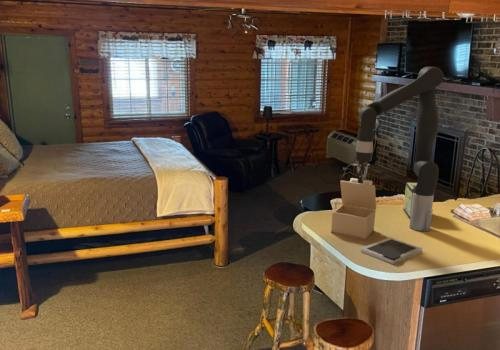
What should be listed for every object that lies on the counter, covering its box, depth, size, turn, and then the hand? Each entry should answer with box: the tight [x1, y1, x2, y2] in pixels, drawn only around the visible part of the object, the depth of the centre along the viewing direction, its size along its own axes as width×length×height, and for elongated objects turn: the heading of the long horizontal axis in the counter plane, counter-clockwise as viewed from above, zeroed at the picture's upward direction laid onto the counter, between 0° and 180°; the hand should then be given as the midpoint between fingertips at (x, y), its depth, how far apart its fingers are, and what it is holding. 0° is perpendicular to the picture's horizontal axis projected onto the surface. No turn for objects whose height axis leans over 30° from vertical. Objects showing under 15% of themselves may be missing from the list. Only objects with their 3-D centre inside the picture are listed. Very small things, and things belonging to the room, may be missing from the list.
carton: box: [330, 203, 377, 241], centre depth 220 cm, size 16×14×10 cm
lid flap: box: [339, 177, 377, 210], centre depth 223 cm, size 16×14×7 cm
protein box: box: [403, 181, 417, 220], centre depth 245 cm, size 10×16×16 cm
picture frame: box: [360, 236, 423, 265], centre depth 199 cm, size 16×3×21 cm
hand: (360, 186), depth 223 cm, fingers closed on lid flap
